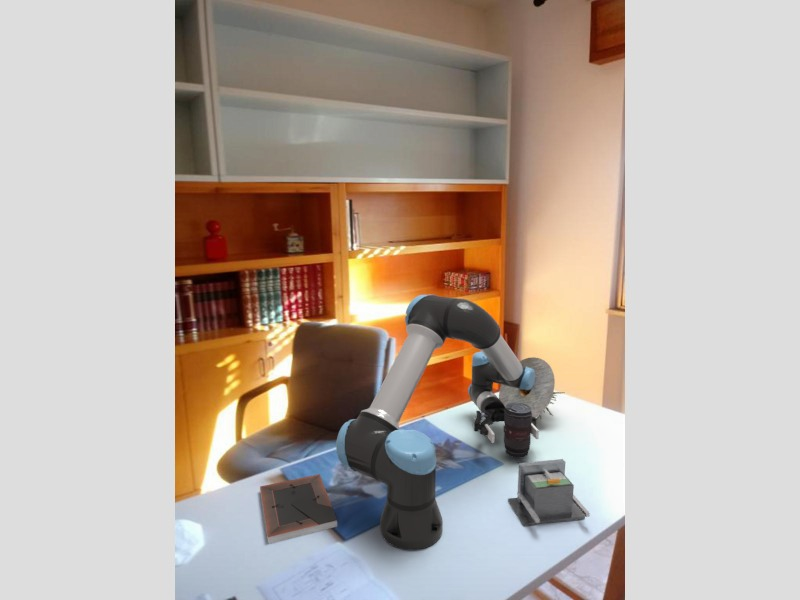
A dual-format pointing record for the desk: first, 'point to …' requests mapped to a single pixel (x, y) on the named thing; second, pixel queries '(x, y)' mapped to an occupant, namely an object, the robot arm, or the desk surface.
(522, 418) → the camera lens
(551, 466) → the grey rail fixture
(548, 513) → the grey box on baseplate
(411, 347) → the robot arm
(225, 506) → the desk surface
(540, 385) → the disc
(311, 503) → the picture frame
